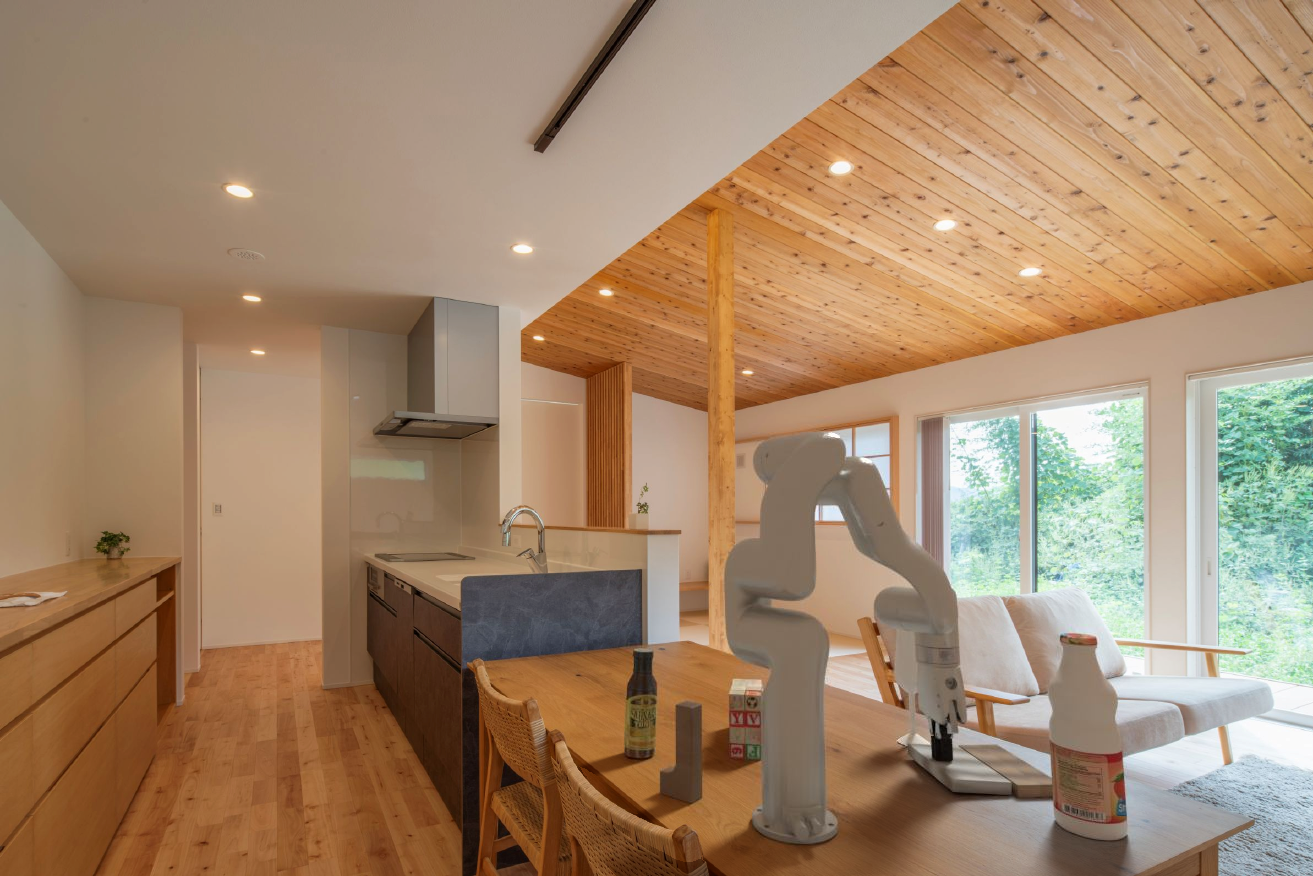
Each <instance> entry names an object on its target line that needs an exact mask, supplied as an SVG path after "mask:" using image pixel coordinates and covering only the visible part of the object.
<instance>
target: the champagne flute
mask: <svg viewBox="0 0 1313 876" xmlns="http://www.w3.org/2000/svg"><path fill="white" fill-rule="evenodd" d="M895 635H896V636H895V637H896V638H895V649H894V651H895V653H894V666H893V667H894V669H893V670H894V671H893V677H894V679H895V682H896V683H897V684H898V686H899V687H900V688H901V689H903V691H904V692H906V693H907V694H908V706H909V707H908V708H909V709H908V712H909V733H907V734H906V735H903V736H901V737H899V738H898V740H896V742H897V741H898V742H899V743H901V744H904V745H905V746H904V747H906V746H908V743H911V744H928V745H931V744H930V743H931V742H930V741H929V740H927V739H925V738H924V737H922V736H921V735H919V734H918V733H917V718H916V717H917V716H916V695H917V694H918V692H917V674H918V663H917V662H916V654H915V633H914V632H913V631H905V630H899V629H896V634H895Z"/></svg>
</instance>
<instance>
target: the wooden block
mask: <svg viewBox="0 0 1313 876" xmlns="http://www.w3.org/2000/svg"><path fill="white" fill-rule="evenodd" d="M702 713H703V705H702V703H699V702H695V701H690V700H685V701H683V702H678V703H677V704H675V765H674V766H673V765H670V766H668V767H666V768H663V769H662V770H660V771H659V794H660V795H663V796H666V797H670V798H672V799H676V800H679V801H683V802H686V803H689V804H693V803H695V802H697V801H699V800H700V799H702V798H703V720H702V719H703V718H702V717H703V715H702Z"/></svg>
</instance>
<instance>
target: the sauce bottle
mask: <svg viewBox="0 0 1313 876" xmlns="http://www.w3.org/2000/svg"><path fill="white" fill-rule="evenodd" d="M632 657H633V668H632V674H631V676H630V677H629V681H628V682H627V683H626V686H627V687H626V698H625V708H624V709H625V711H624V734H623V737H624V738H623V745H624V748H623V749H624V755H625V756H626V757H628V758H631V759H636V760H637V759H640V760H641V759H642V760H643V759H649V758H652V757H653V756H654V755H655V752H656V751H655V750H656V749H655V748H656V746H657V725H658V723H657V722H658V721H657V720H658V719H657V718H658V717H657V716H658V683H657V680H656V678H655V676H654V674H653V672H654V671H653V658H654V650H653V649H651V648H644V647H643V648H642V647H640V648H634V649H633V651H632Z"/></svg>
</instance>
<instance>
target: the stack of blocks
mask: <svg viewBox="0 0 1313 876" xmlns="http://www.w3.org/2000/svg"><path fill="white" fill-rule="evenodd" d="M731 683H732V684H731V686H730V689H729V693H728V724H729V725H728V727H729V728H728V729H729V741H728V747H729V748H728V750H729V753H728V754H729V756H728V757H729V759H731V758H735V759H734V760H749V759H755V760H754V761H762V760H761V759H762V748H761V698H762V693H763V690H764V688H763V683H762V679H753V678H752V679H751V678H750V679H749V678H745V679H743V678H732V682H731Z"/></svg>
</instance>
